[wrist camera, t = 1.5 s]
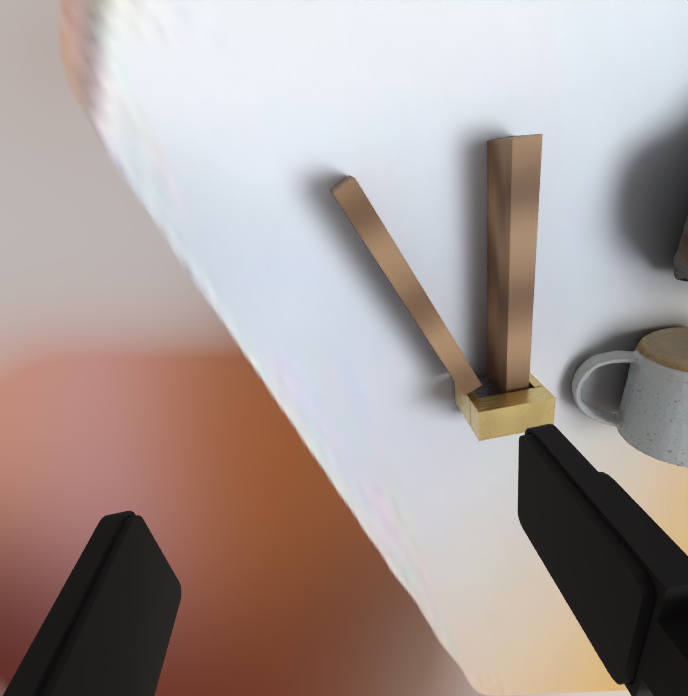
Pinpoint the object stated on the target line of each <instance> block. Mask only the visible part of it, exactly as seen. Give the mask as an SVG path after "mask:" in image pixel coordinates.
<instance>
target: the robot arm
mask: <svg viewBox="0 0 688 696" xmlns="http://www.w3.org/2000/svg"><path fill="white" fill-rule="evenodd" d="M518 517H519V520H520V523H521V526H522V528H523V529H524V531H525V533H526V535H527V536H528V538H529V540H530V541H531V543H532V545H533V546H534V548H535V550H536V551H537V553H538V555H539V556H540V558H541V560H542V561H543V563H544V565H545V567H546V568H547V570H548V572H549V573H550V575H551V577H552V578H553V580H554V582H555V583H556V585H557V587H558V588H559V590H560V592H561V593H562V595H563V597H564V598H565V600H566V602H567V604H568V605H569V607H570V609H571V610H572V612H573V614H574V615H575V617H576V619H577V620H578V622H579V624H580V625H581V627H582V629H583V630H584V632H585V634H586V636H587V637H588V639H589V641H590V642H591V644H592V646H593V647H594V649H595V651H596V652H597V654H598V656H599V657H600V659H601V661H602V662H603V664H604V666H605V668H606V669H607V671H608V673H609V674H610V676H611V677H612V678H613V680H614V681H615V682H616V683H617V684H620V685H621V684H625V686H626V687H627V689H628V691H629V692H630V694H631V696H688V556H687V555H686V554H685V553H684V552H683V551H682V550H681V549H680V547H679V546H678V545H677V544H676V543H675V542H674V541H673V540H672V539H671V538H670V537H669V536H668V535H667V534H666V533H665V532H664V531H663V530H662V529H661V528H660V527H659V526H658V525H657V524H656V523H655V522H654V521H653V520H652V518H651V517H650V516H649V515H648V514H647V513H646V512H645V511H644V510H643V509H642V508H641V507H640V506H639V505H638V504H637V503H636V502H635V501H634V500H633V499H632V498H631V497H630V496H629V495H628V494H627V493H626V492H625V491H624V490H623V488H622V487H621V486H620V485H619V484H618V483H617V482H616V481H615V480H614V479H613V478H611V477H610V476H609V475H608V474H606V473H603V472H598V471H597V470H596V469H595V468H594V467H593V466H592V465H591V464H590V463H589V462H588V460H587V459H586V458H585V457H584V456H583V455H582V454H581V453H580V452H579V451H578V450H577V449H576V448H575V447H574V446H573V445H572V443H571V442H570V441H569V440H568V439H567V438H566V437H565V436H564V435H563V434H562V433H561V432H560V431H559V430H558V429H557V427H555V426H554V425H553V424H545V425H540V426H536V427H531V428H527V429H526V431H525V435H523V436H520V438H519V470H518ZM180 600H181V585H180V583H179V581H178V579H177V577H176V576H175V574H174V572H173V570H172V569H171V567H170V565H169V563H168V562H167V560H166V558H165V556H164V555H163V553H162V551H161V549H160V548H159V546H158V544H157V542H156V541H155V539H154V537H153V535H152V534H151V532H150V530H149V528H148V527H147V525H146V523H145V521H144V520H143V518H142V517H141V516H139V515H137V516H136V515H135V514H134V512H132V511H126V512H121V513H116V514H111V515H106V516H104V517H103V518H102V519H101V520H100V522H99V524H98V525H97V527H96V529H95V531H94V533H93V535H92V536H91V538H90V540H89V542H88V544H87V545H86V547H85V549H84V551H83V552H82V554H81V556H80V558H79V560H78V561H77V563H76V565H75V567H74V569H73V570H72V572H71V574H70V576H69V578H68V579H67V581H66V583H65V585H64V587H63V588H62V590H61V592H60V594H59V596H58V598H57V599H56V601H55V603H54V605H53V607H52V608H51V610H50V612H49V614H48V615H47V617H46V619H45V621H44V623H43V624H42V626H41V628H40V630H39V632H38V633H37V635H36V637H35V639H34V641H33V642H32V644H31V646H30V648H29V650H28V651H27V653H26V655H25V657H24V659H23V660H22V662H21V664H20V666H19V668H18V670H17V671H16V673H15V675H14V677H13V678H12V680H11V682H10V684H9V686H8V687H7V689H6V691H5V693H4V695H3V696H154V695H155V691H156V687H157V684H158V680H159V677H160V673H161V669H162V666H163V662H164V658H165V655H166V651H167V647H168V644H169V640H170V637H171V633H172V629H173V626H174V622H175V618H176V615H177V611H178V607H179V603H180Z"/></svg>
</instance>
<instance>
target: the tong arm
mask: <svg viewBox="0 0 688 696" xmlns="http://www.w3.org/2000/svg"><path fill="white" fill-rule="evenodd" d="M330 190H331V192H332V193H333V195H334V197H335V198H336V200H337V201H338V203H339V204H340V206H341V207H342V209H343V210H344V212H345V213H346V215H347V217H348V218H349V220H350V221H351V223H352V224H353V226H354V227H355V229H356V230H357V232H358V233H359V235H360V237H361V238H362V240H363V241H364V243H365V244H366V246H367V247H368V249H369V250H370V252H371V253H372V255H373V256H374V258H375V260H376V261H377V263H378V264H379V266H380V267H381V269H382V270H383V272H384V273H385V275H386V276H387V278H388V280H389V281H390V283H391V284H392V286H393V287H394V289H395V290H396V292H397V293H398V295H399V296H400V298H401V300H402V301H403V303H404V304H405V306H406V307H407V309H408V310H409V312H410V313H411V315H412V316H413V318H414V320H415V321H416V323H417V324H418V326H419V327H420V329H421V330H422V332H423V333H424V335H425V336H426V338H427V340H428V341H429V343H430V344H431V346H432V347H433V349H434V350H435V352H436V353H437V355H438V356H439V358H440V359H441V361H442V363H443V364H444V366H445V367H446V369H447V370H448V372H449V373H450V375H451V376H452V378H453V379H454V381H455V382H456V384H457V385H458V387H459V388H460V390H461V392H462V393H463V395H464V396H465V395H466V394H468V393H470V392H471V391H473V390H475V389H476V388H478V387H480V386H482V384H481V383H480V381H479V379H478V378H477V376H476V375H475V373H474V371H473V370H472V368H471V366H470V365H469V363H468V362H467V360H466V358H465V357H464V355H463V353H462V352H461V350H460V348H459V347H458V345H457V344H456V342H455V340H454V339H453V337H452V335H451V334H450V332H449V331H448V329H447V327H446V326H445V324H444V322H443V321H442V319H441V318H440V316H439V314H438V313H437V311H436V309H435V308H434V306H433V304H432V303H431V301H430V300H429V298H428V296H427V295H426V293H425V291H424V290H423V288H422V287H421V285H420V283H419V282H418V280H417V278H416V277H415V275H414V274H413V272H412V270H411V269H410V267H409V265H408V264H407V262H406V260H405V259H404V257H403V256H402V254H401V252H400V251H399V249H398V247H397V246H396V244H395V243H394V241H393V239H392V238H391V236H390V234H389V233H388V231H387V230H386V228H385V226H384V225H383V223H382V221H381V220H380V218H379V216H378V215H377V213H376V212H375V210H374V208H373V207H372V205H371V203H370V202H369V200H368V199H367V197H366V195H365V194H364V192H363V190H362V189H361V187H360V186H359V184H358V182H357V181H356V179H355V178H354V177H352V176H350V175H349V176H347V177H346V178H345V179H343V180H342V181H341V182H339V183H338V184H337V185H335V186H334V187H333V188H331V189H330Z"/></svg>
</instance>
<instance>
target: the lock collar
mask: <svg viewBox="0 0 688 696" xmlns="http://www.w3.org/2000/svg"><path fill="white" fill-rule="evenodd" d="M454 383H455V402H456V404H457V406H458V407H459V409H460V410H461V412H462V414H463V415H464V417H465V419H466V420H467V422H468V424H469V425H470V427H471V429H472V430H473V432H474V433H475V435H476V437H477V438H478V440H479V441H481V440H486V439H491V438H497V437H502V436H507V435H513V434H518V433H523V432H525V431H526V429H527V428H531V427H536V426H540V425H545V424H553V423H554V412H555V401H556V398H555V397H554V396H553V395H552V394H551V393H550V392H549V391H548V390H547V389H546V388H545V387H544V386H543V385H542V384H541V383H540V382H539V381H538V380H537V379H536V378H535V377H534V376H533V375H532V374H531V373H529V389H526V390H520V391H515V392H510V393H504V394H499V395H494V396H488V397H483V398H478V397H477V395H476V394H475V392H474V391H471V392H470V393H468V394H466V395H465V396H464V395H463V393H462V392H461V390H460V388H459V387H458V385H457V384H456V382H455V381H454Z"/></svg>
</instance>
